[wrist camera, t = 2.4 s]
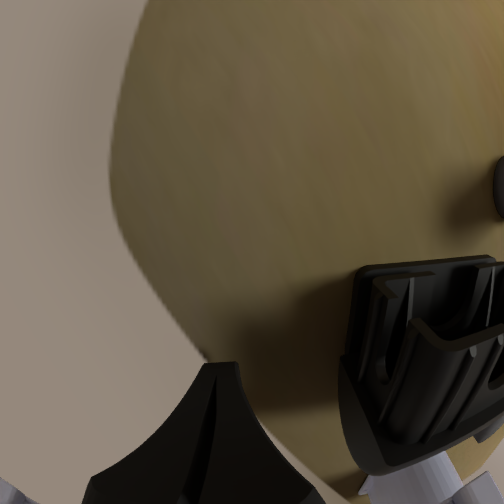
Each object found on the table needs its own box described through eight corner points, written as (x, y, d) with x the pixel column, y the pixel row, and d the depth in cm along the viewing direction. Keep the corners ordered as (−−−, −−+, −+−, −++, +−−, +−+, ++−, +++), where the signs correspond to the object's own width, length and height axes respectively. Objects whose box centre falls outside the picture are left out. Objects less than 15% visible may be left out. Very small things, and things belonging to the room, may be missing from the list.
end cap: (327, 391, 13) (362, 500, 6) (343, 265, 11) (440, 379, 4) (464, 355, 13) (519, 419, 7) (495, 252, 11) (579, 301, 4)
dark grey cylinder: (469, 393, 14) (498, 431, 10) (437, 408, 14) (465, 453, 10) (485, 359, 13) (521, 398, 9) (453, 374, 13) (489, 422, 9)
